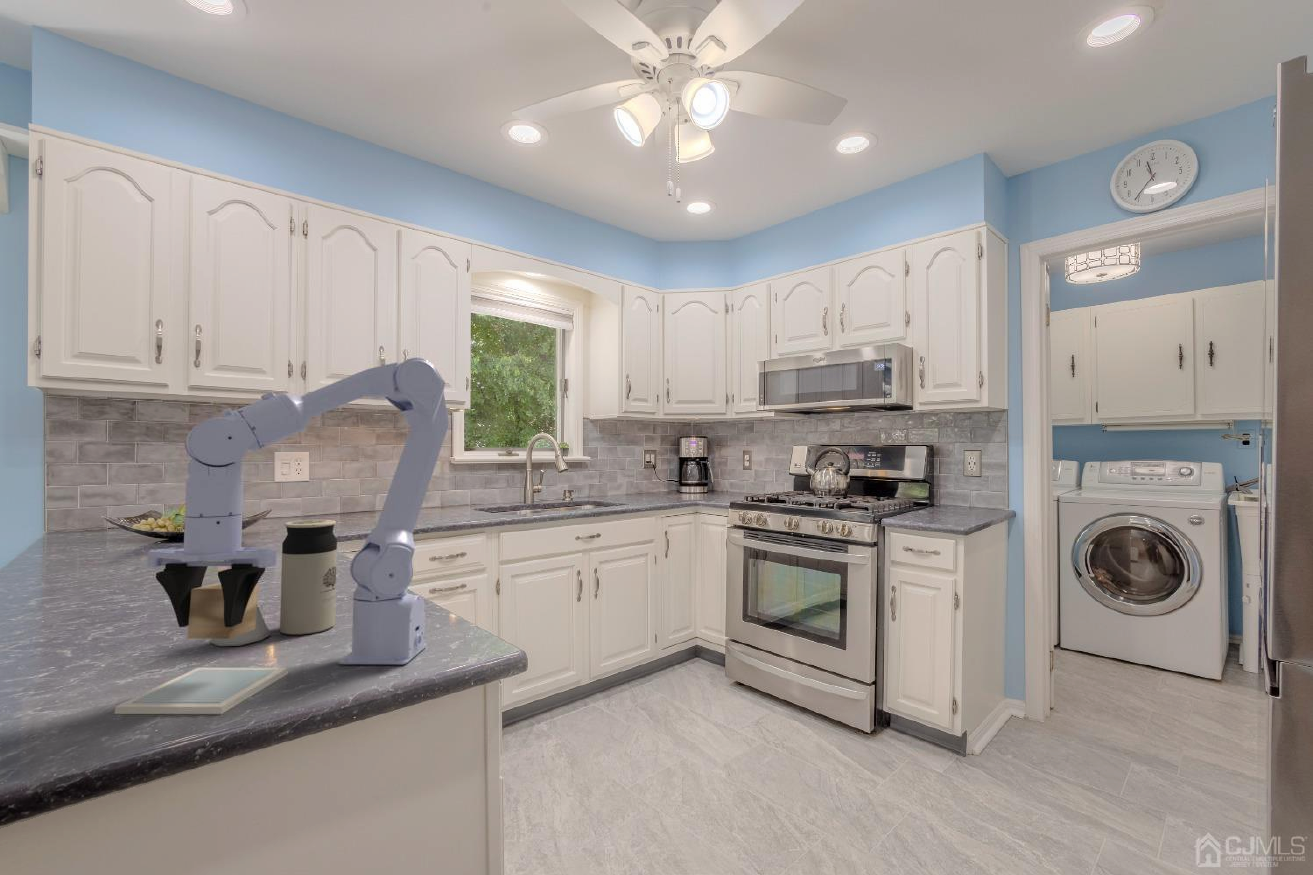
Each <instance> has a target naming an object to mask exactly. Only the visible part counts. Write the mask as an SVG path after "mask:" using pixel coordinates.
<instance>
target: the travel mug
mask: <svg viewBox="0 0 1313 875" xmlns="http://www.w3.org/2000/svg"><path fill="white" fill-rule="evenodd" d="M336 523H337V522H336V520H334V519H305V520H302V519H301V520H294V521H288V522H285V523H284V527H285V528H286V534H287V535H286V537H285V538H284V540H283V542H282V544H281V545H282V547H281V575H280V576H281V579H280V581H281V582H280V614H279V615H280V616H279V618H280V620H279V631H280V633H282V634H285V635H289V636H303V635H304V636H305V635H313V634H317V633H321V632H324V631H327V630H329V629H330V628H332V627H333V626H335V624H336V602H337V601H336V599H337V597H336V596H337V595H336V590H337V589H336V588H337V558H338V556H337V553H338V550H337V549H338V539H337V538H336V536H335V533H334V532H333V531H334V527H335V525H336Z"/></svg>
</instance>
